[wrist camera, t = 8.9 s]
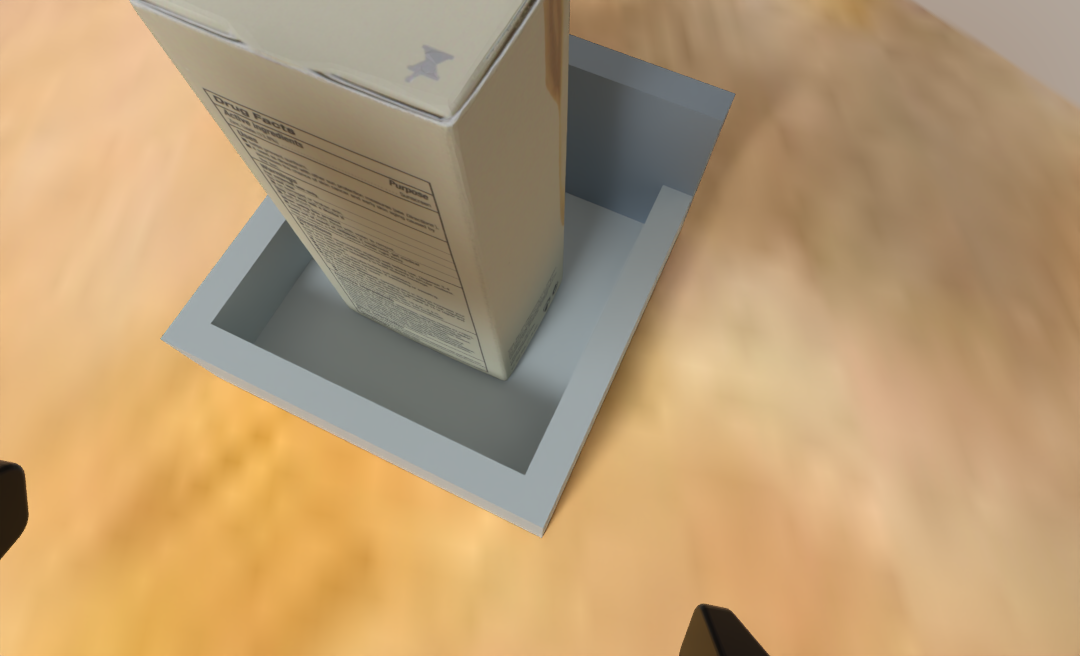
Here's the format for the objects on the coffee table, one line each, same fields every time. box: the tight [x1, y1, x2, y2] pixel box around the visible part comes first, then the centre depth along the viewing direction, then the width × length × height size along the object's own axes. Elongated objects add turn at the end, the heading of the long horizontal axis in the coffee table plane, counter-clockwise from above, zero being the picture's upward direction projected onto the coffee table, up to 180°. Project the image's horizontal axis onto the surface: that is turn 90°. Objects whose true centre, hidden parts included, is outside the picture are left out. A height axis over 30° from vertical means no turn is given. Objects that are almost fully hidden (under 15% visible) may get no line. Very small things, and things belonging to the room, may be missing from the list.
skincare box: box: [129, 0, 570, 381], centre depth 16 cm, size 6×4×12 cm
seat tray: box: [161, 34, 735, 538], centre depth 19 cm, size 12×12×7 cm
